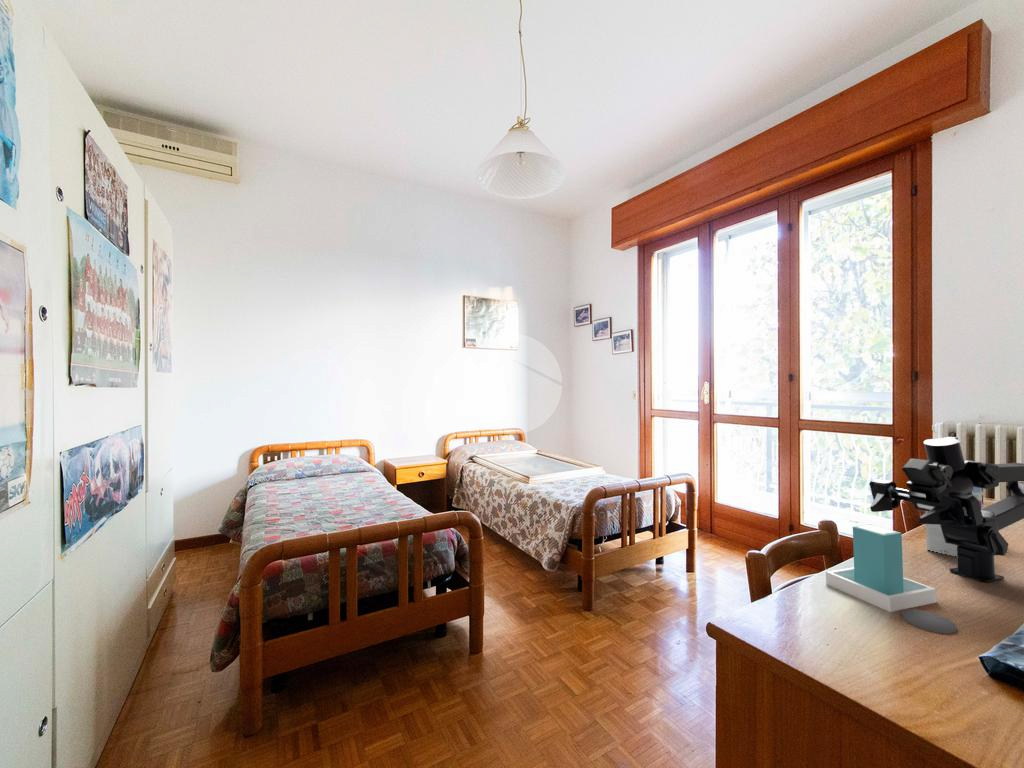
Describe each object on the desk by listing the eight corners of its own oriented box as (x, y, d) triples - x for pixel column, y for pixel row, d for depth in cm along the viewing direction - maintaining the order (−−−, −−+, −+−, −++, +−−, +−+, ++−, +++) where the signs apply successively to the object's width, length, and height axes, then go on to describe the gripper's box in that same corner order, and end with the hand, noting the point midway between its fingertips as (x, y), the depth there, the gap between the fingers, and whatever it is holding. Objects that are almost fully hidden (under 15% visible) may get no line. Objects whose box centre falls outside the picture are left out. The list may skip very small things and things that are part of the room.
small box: (960, 558, 107) (958, 505, 107) (926, 550, 113) (924, 500, 113) (968, 551, 112) (966, 500, 112) (934, 544, 117) (933, 496, 117)
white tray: (869, 577, 97) (868, 564, 97) (936, 604, 85) (936, 588, 85) (826, 585, 94) (825, 571, 94) (890, 613, 82) (889, 598, 82)
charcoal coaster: (919, 612, 82) (919, 607, 82) (966, 631, 75) (966, 626, 75) (892, 618, 80) (892, 612, 80) (938, 638, 73) (938, 632, 73)
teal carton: (872, 584, 93) (870, 523, 93) (903, 597, 87) (901, 532, 87) (854, 587, 92) (852, 526, 92) (885, 600, 86) (883, 535, 86)
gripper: (887, 449, 104) (841, 471, 100) (991, 460, 86) (939, 488, 82) (898, 492, 104) (852, 516, 100) (1003, 513, 86) (953, 543, 82)
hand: (894, 515), depth 91 cm, fingers open, 9 cm apart
